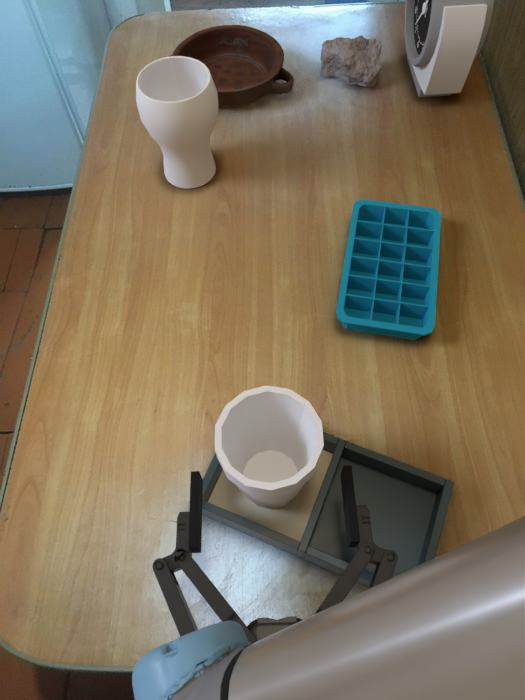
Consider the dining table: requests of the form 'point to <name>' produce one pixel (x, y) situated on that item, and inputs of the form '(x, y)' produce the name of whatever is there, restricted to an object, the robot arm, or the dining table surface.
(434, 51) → the alarm clock
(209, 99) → the cup
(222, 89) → the dish
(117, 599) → the dining table surface
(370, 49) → the stone
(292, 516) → the divided tray
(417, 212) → the ice cube tray
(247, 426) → the foam cup
